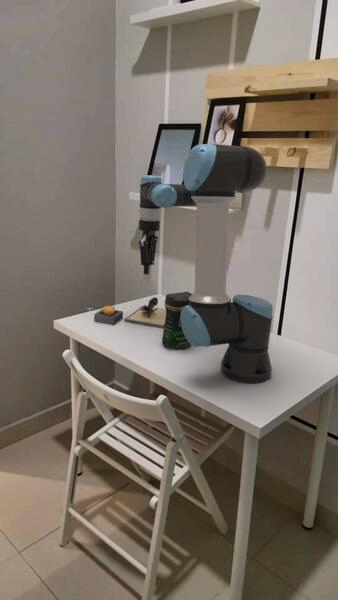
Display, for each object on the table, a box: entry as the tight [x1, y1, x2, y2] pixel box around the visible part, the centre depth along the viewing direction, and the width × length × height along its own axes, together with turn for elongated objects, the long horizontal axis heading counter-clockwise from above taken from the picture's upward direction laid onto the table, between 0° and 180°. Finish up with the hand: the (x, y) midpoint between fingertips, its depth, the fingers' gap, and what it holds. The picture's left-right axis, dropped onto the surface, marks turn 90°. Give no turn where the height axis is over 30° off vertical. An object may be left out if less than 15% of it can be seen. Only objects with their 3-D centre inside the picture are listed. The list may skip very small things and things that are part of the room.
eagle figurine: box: [140, 296, 159, 318], centre depth 183 cm, size 8×7×9 cm
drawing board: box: [123, 305, 166, 330], centre depth 184 cm, size 18×16×1 cm
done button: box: [102, 305, 116, 316], centre depth 178 cm, size 5×5×2 cm
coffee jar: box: [161, 291, 193, 351], centre depth 156 cm, size 10×8×19 cm
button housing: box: [93, 308, 124, 326], centre depth 179 cm, size 8×8×3 cm
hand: (147, 281), depth 179 cm, fingers closed
